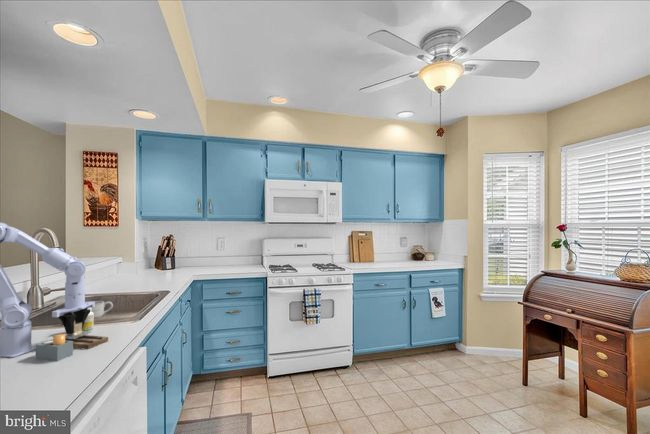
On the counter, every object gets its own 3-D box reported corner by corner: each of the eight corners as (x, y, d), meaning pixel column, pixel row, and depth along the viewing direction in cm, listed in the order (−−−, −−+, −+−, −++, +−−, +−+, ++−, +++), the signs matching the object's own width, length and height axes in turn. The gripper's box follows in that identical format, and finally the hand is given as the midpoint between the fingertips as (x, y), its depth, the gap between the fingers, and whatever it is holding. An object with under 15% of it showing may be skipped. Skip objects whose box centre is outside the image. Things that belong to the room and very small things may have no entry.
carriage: (59, 338, 114) (60, 325, 114) (75, 332, 119) (75, 320, 119) (73, 339, 113) (74, 326, 113) (88, 333, 118) (88, 321, 118)
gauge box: (35, 359, 102) (35, 343, 102) (51, 352, 107) (52, 337, 107) (57, 361, 100) (57, 345, 100) (72, 354, 105) (73, 339, 105)
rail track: (54, 346, 113) (55, 339, 113) (76, 338, 121) (76, 332, 121) (88, 349, 110) (88, 342, 110) (108, 341, 118) (108, 334, 118)
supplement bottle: (90, 333, 126) (90, 308, 127) (74, 334, 125) (74, 309, 125) (95, 329, 132) (96, 305, 132) (80, 330, 130) (80, 306, 130)
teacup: (69, 324, 137) (69, 306, 137) (81, 317, 148) (81, 300, 148) (106, 322, 141) (107, 303, 141) (115, 315, 151) (116, 298, 151)
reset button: (50, 352, 102) (50, 336, 102) (59, 348, 105) (60, 333, 105) (58, 353, 102) (58, 337, 102) (67, 349, 104) (67, 334, 105)
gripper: (64, 299, 109) (63, 339, 108) (101, 290, 123) (101, 326, 122) (47, 298, 110) (46, 338, 110) (86, 289, 124) (85, 325, 124)
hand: (74, 332), depth 116 cm, fingers closed on carriage, 3 cm apart
